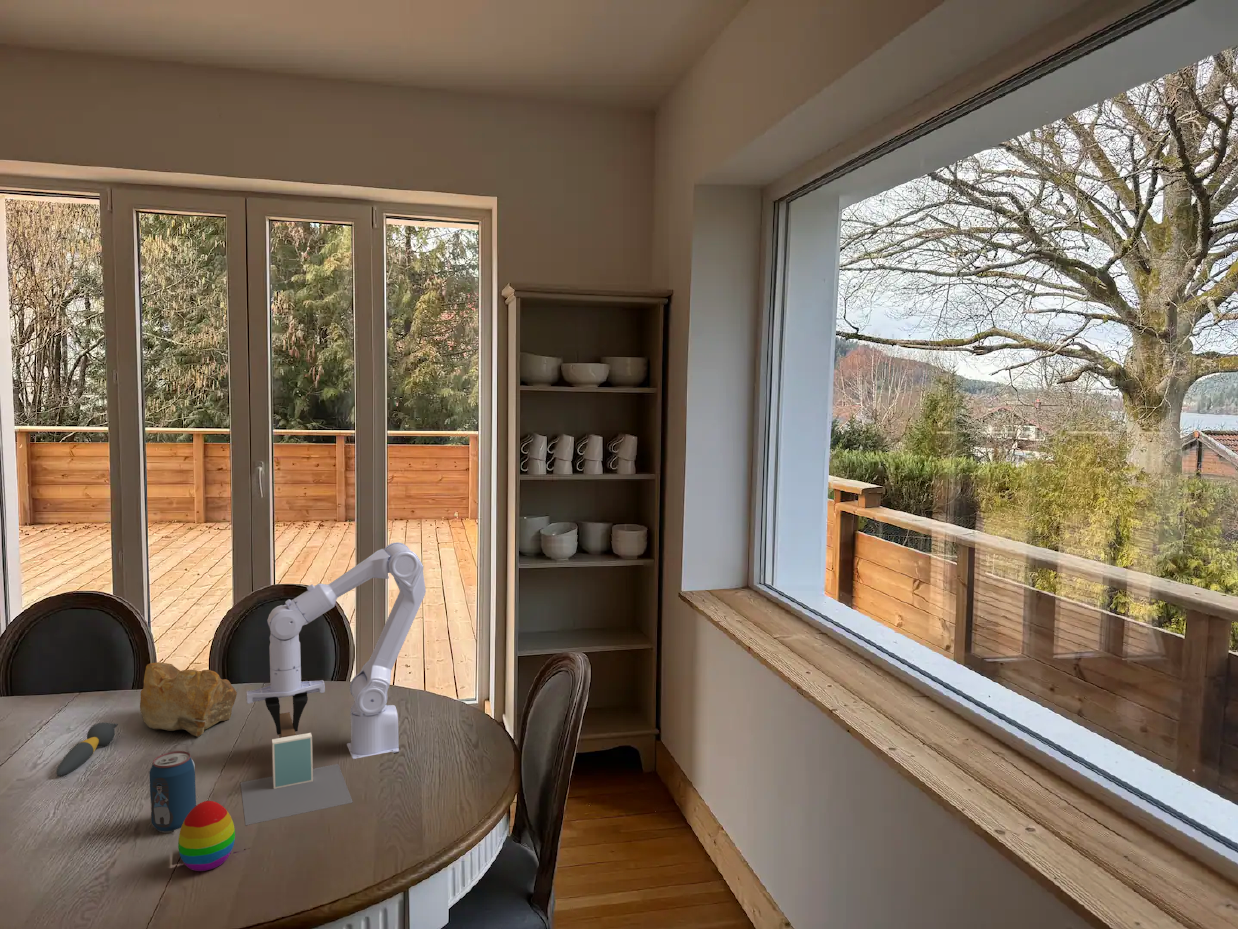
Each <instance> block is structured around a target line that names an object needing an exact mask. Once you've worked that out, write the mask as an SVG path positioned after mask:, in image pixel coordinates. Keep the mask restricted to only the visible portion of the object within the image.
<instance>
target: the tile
mask: <svg viewBox="0 0 1238 929" xmlns="http://www.w3.org/2000/svg"><path fill="white" fill-rule="evenodd" d="M271 753H272V754H271V757H272V758H271V759H272V760H271V761H272V762H271V763H272V776H273V787H274V789H275V788H281V787H286V786H291V785H296V784H301V783H306V782H311V781H313V766H314V763H313V762H314V761H313V759H314V758H313V736H312V732H307V733H302V734H301V733H300V734H296V735H294V736H289V737H283V738H279V737H278V738H272V739H271Z"/></svg>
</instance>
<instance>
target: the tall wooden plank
mask: <svg viewBox="0 0 1238 929" xmlns="http://www.w3.org/2000/svg"><path fill="white" fill-rule="evenodd" d="M280 726H281V734H279V735H278V738H283V737H289V736H294V735H297V734H296V732H295V730H294V727H293V718H292V716H291V713H290V712H289V711H288V712H282V713H281V712H280Z"/></svg>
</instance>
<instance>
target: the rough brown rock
mask: <svg viewBox="0 0 1238 929" xmlns="http://www.w3.org/2000/svg"><path fill="white" fill-rule="evenodd" d="M237 695H238V693H237V690H236V689H235V688H234V686H233V685H232V683H231V682H230V680H228V679H225V678H224V679H222V678H221V677H220V675H219V673H217V672H216V671H214V670H211V669H203V670H197V669H184V670H180V669H179V668H177V667H176V666H175V665H173V663H167V662H159V661H157V662H150V663H148V664H146V666H145V671H144V677H143V688H142V689H141V690H140V701H139V710H140V714H141V716H142V720H143V723H144V724H145V725H146V726H147V727H148V728H149V729H152V730H153V729H154V730H165V731H169V732H172V731H179V730H185V731H186V732H187V733H189V734H190V735H192V736H194V737H200V736H202V735H203V734H204V733H205V730H208V729H209V728H211V727H212V726H215V725H216V724H218V723H219V722H223V721H228V720H230V718H231V716H232V710H233V707H234V705H235V701H236V698H237Z"/></svg>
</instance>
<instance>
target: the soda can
mask: <svg viewBox="0 0 1238 929" xmlns="http://www.w3.org/2000/svg"><path fill="white" fill-rule="evenodd" d="M195 768H196V766H195V761H194V760H193V759H192V756H191V754H190V753H189V752H188V751H183V750H174V751H169V752H166V753H162V754H160V755H159V756H158V755H157V757H155V758H154V759H153V761H152V765H151V767H150V769H149V774H148V775H149V792H150V793H149V795H150V796H149V798H150V800H149V801H150V822H151V825H152V826H153V827H154V829H156V830H157V831H158V832H159V833H165V834H166V833H167V834H168V833H174V831H175V830H178V829H181V827H182V824H183V822H184V820H185V818H186V817H187V815H188V814H189V813H190V811H191V810H192V809H193V808H194V807H195V806H197V797H196V796H197V794H196V793H197V791H196V770H195Z"/></svg>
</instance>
